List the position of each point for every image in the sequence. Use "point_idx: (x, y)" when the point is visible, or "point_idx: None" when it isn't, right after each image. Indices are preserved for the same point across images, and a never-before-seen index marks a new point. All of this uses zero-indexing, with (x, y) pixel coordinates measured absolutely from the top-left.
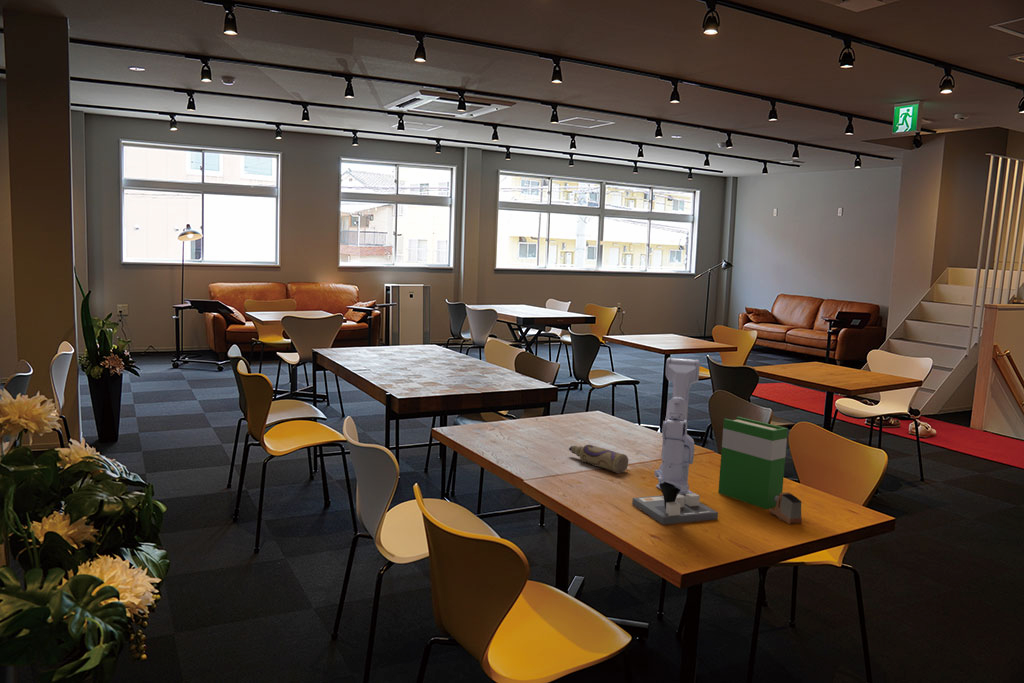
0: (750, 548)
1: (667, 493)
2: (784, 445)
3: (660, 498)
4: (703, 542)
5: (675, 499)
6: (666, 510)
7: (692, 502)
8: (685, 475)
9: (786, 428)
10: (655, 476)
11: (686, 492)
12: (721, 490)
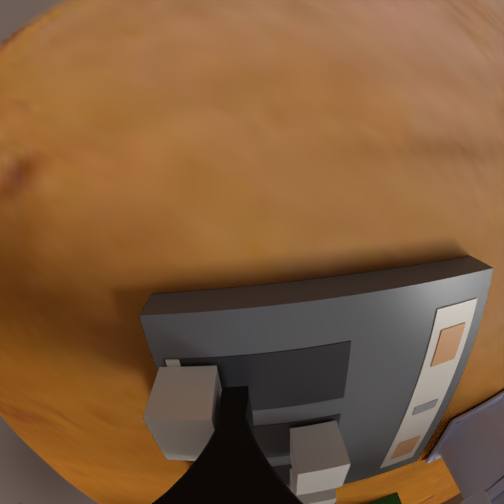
0: (15, 419)
1: (178, 485)
2: None
3: (428, 396)
4: (4, 346)
5: (298, 464)
6: (207, 378)
7: (291, 486)
8: (458, 485)
9: None
10: (470, 498)
11: (435, 453)
12: (391, 501)
